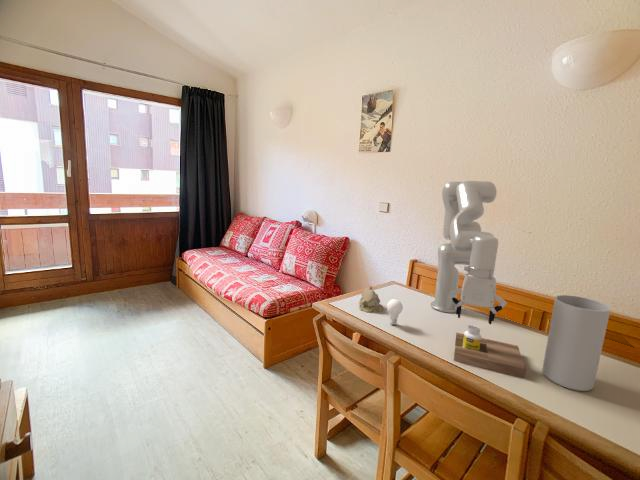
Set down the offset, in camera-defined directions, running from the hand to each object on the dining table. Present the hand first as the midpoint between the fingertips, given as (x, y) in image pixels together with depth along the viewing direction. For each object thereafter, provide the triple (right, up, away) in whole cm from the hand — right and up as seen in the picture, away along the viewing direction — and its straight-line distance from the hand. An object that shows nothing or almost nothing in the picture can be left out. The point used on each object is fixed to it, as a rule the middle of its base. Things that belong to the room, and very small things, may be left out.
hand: (474, 319), depth 107 cm
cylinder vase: (+23, -16, -11) cm, 30 cm away
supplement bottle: (0, -12, +2) cm, 13 cm away
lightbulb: (-23, -8, +22) cm, 33 cm away
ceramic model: (-30, -5, +40) cm, 50 cm away
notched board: (+4, -13, 0) cm, 13 cm away
